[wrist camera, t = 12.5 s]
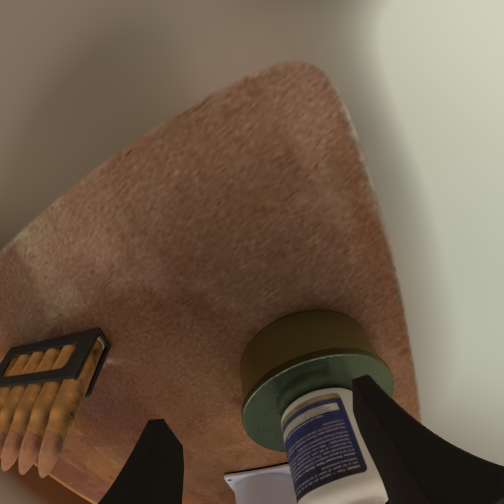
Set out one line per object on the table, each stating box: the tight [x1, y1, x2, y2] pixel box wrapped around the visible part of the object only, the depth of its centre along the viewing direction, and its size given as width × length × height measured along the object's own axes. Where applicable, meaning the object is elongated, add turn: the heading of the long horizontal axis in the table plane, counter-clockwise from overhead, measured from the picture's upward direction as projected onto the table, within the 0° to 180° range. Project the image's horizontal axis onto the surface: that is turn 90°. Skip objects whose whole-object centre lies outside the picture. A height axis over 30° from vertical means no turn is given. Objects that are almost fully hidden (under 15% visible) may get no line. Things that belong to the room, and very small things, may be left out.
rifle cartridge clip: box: [0, 328, 111, 478], centre depth 16 cm, size 11×2×12 cm, turn 106°
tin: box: [240, 310, 394, 452], centre depth 21 cm, size 10×10×5 cm
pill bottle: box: [281, 388, 388, 504], centre depth 15 cm, size 5×5×10 cm
